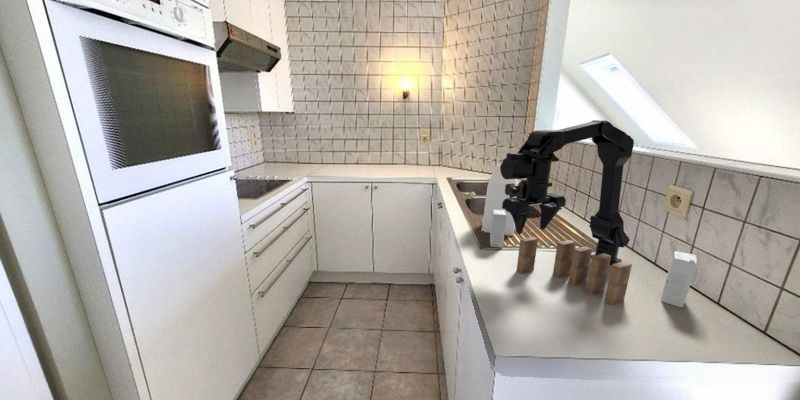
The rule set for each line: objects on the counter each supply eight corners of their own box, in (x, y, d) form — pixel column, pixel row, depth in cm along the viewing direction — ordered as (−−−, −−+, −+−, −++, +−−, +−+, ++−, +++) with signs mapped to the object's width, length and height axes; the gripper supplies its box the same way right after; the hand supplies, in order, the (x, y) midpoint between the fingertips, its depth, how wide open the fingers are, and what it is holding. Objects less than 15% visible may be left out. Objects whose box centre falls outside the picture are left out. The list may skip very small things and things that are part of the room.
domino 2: (564, 271, 94) (569, 239, 91) (569, 273, 92) (575, 241, 89) (552, 274, 91) (557, 242, 89) (558, 277, 90) (563, 244, 87)
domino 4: (597, 287, 85) (604, 253, 82) (604, 290, 83) (611, 255, 81) (585, 291, 83) (591, 256, 80) (591, 294, 81) (598, 259, 79)
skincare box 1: (503, 248, 109) (506, 215, 106) (490, 246, 110) (493, 214, 107) (501, 241, 115) (504, 210, 112) (489, 240, 116) (492, 209, 113)
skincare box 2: (661, 292, 83) (672, 249, 80) (684, 298, 80) (696, 254, 77) (660, 302, 78) (672, 257, 75) (684, 309, 76) (697, 263, 73)
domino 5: (616, 296, 80) (624, 260, 78) (623, 300, 79) (632, 263, 76) (604, 301, 78) (611, 264, 76) (611, 305, 77) (619, 267, 74)
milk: (481, 231, 125) (487, 166, 118) (485, 222, 135) (490, 162, 129) (513, 236, 121) (521, 168, 114) (514, 226, 131) (521, 164, 124)
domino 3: (580, 278, 89) (586, 246, 87) (586, 281, 88) (592, 248, 85) (568, 282, 87) (573, 249, 84) (574, 285, 85) (580, 251, 83)
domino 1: (528, 267, 95) (533, 236, 93) (533, 270, 94) (537, 238, 91) (516, 270, 93) (520, 239, 91) (521, 273, 92) (525, 241, 89)
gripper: (538, 171, 97) (531, 219, 101) (491, 175, 89) (486, 227, 93) (570, 177, 88) (562, 230, 92) (521, 182, 80) (514, 240, 84)
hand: (530, 231), depth 90 cm, fingers open, 9 cm apart
